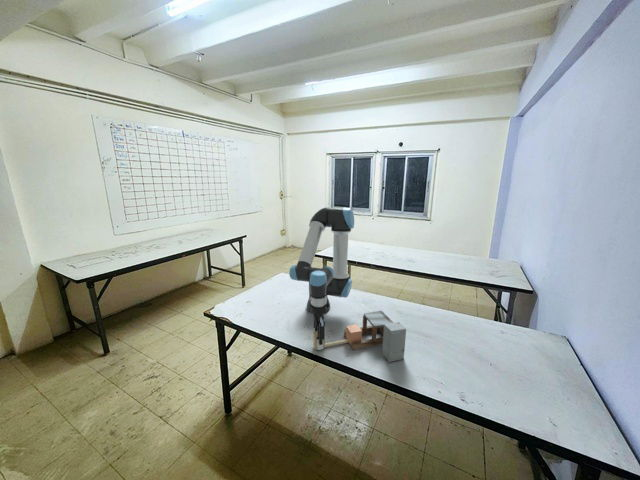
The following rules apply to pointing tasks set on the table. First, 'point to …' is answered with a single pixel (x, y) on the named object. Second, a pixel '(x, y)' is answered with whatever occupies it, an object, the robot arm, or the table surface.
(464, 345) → the table surface
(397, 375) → the table surface
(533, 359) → the table surface
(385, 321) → the shelf lane
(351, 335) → the tether block
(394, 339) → the skincare box
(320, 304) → the robot arm
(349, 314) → the table surface
